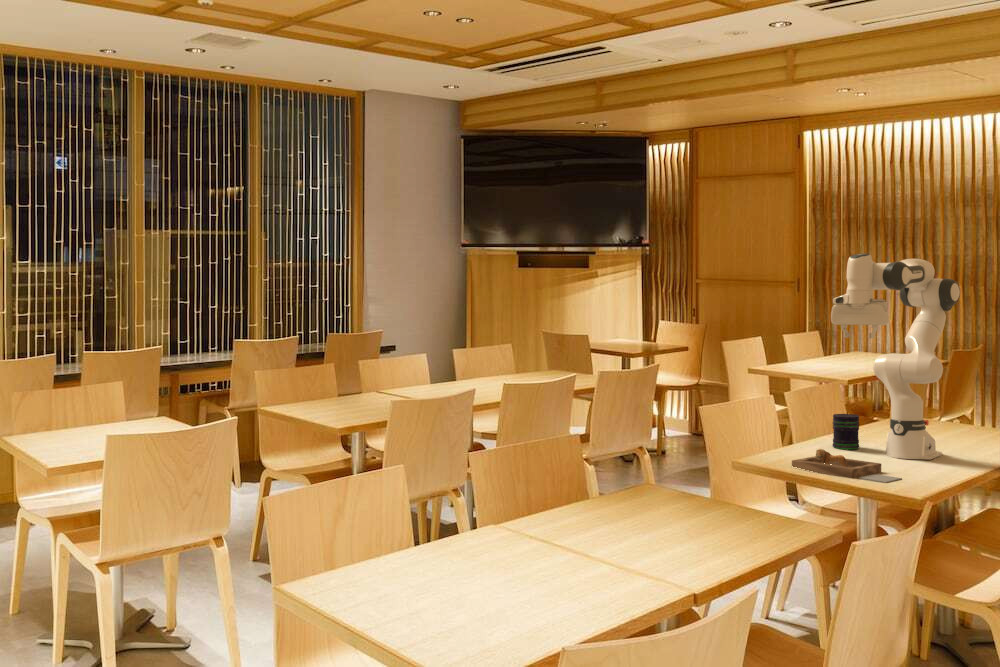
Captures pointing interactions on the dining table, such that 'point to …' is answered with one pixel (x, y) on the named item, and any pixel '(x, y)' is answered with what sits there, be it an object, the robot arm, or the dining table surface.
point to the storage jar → (846, 431)
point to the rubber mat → (880, 478)
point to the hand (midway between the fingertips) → (859, 337)
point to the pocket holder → (838, 467)
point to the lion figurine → (830, 458)
